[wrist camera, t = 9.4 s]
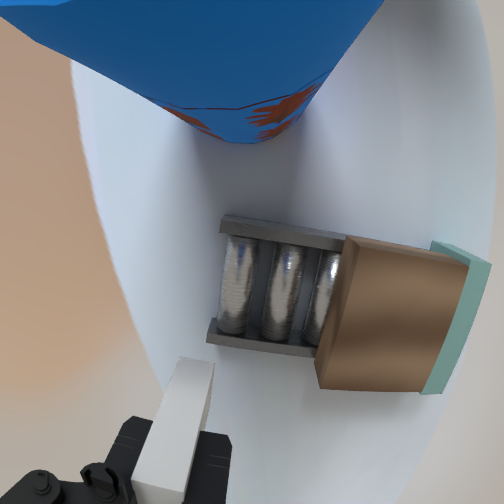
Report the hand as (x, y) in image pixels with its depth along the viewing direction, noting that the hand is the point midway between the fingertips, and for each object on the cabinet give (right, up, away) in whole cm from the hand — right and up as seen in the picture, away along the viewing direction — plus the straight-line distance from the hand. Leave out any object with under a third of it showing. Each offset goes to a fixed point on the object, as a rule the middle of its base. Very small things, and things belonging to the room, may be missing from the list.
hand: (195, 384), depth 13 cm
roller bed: (+9, +2, +17) cm, 19 cm away
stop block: (+20, 0, +17) cm, 26 cm away
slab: (+14, +1, +14) cm, 20 cm away
